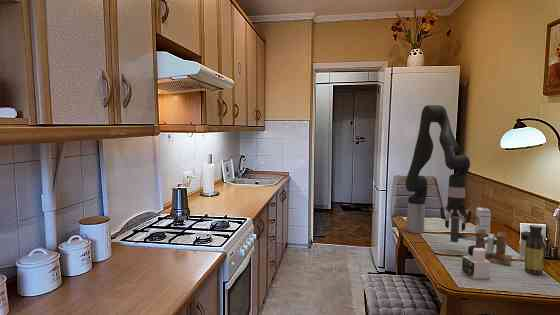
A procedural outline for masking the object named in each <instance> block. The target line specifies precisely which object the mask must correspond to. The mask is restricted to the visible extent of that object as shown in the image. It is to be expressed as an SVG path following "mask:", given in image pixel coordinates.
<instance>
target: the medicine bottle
mask: <svg viewBox="0 0 560 315" xmlns="http://www.w3.org/2000/svg"><path fill="white" fill-rule="evenodd" d="M485 251H486V248H485V249H484V248H482V247H480V246H476V244H475V245H474V244H473V245H469V246H468V248H467V255H462V263H461V264H462V266H461V267H462V268H461V272H462V273H463V274H465V275H466V276H468V277H469V278H471V279H472V280H485V279H490V277H491V274H490V273H491V262H490V261H488V260H486V259H485Z"/></svg>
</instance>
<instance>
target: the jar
mask: <svg viewBox="0 0 560 315" xmlns="http://www.w3.org/2000/svg"><path fill="white" fill-rule="evenodd" d="M529 236H530V231H521V232H520V244H519V246H520V247H519V260H522V261H524V262H525V247H526V240H527V239H528V237H529ZM541 239H542V240H543V241H544V235H542V234H541Z"/></svg>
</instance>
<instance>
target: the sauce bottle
mask: <svg viewBox="0 0 560 315" xmlns="http://www.w3.org/2000/svg"><path fill="white" fill-rule="evenodd" d="M542 230H543V226H541V225H538V224H530V225H529V232H530V236H529V237H528V239H527V240H526V247H525V261H524V271H525V272H526V273H529V274H532V275H542V274H543V273H544V272H543V270H544V264H545V242H544V239H543V240H542V239H541V235H542Z"/></svg>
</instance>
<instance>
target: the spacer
mask: <svg viewBox="0 0 560 315" xmlns="http://www.w3.org/2000/svg"><path fill="white" fill-rule="evenodd" d="M487 238H488V243H486V244H487V245H486V246H487V247H486V251H487V252H488V253H492V252H494V248H495V245H494V244H493V239H495V233H494V234H493V233H490V234H489V235H487Z"/></svg>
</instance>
